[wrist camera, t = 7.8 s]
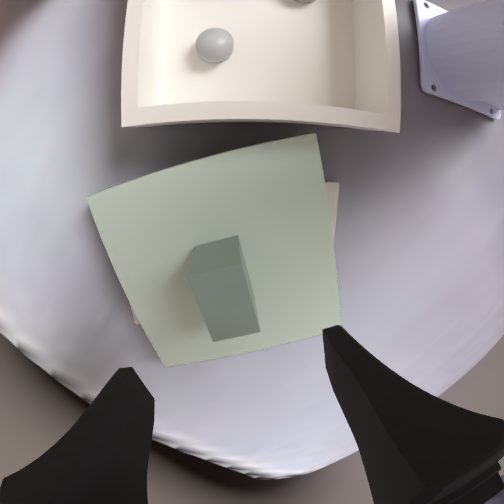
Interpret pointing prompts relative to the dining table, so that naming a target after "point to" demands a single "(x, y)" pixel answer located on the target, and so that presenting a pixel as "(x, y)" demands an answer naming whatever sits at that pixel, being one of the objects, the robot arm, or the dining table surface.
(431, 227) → the dining table surface
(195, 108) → the tub
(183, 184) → the lid
